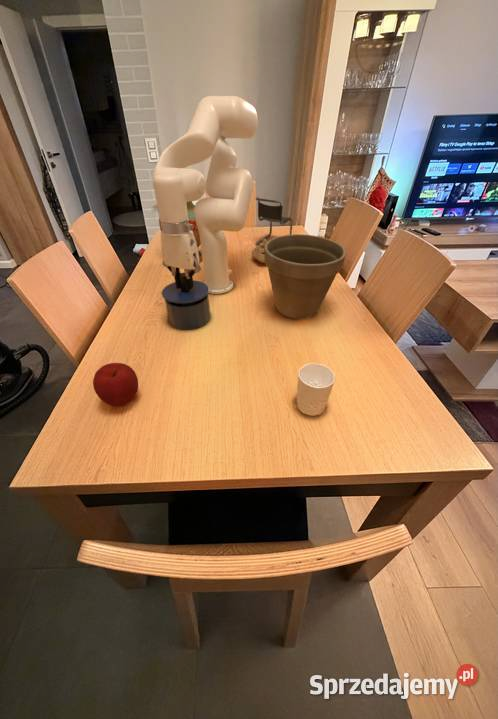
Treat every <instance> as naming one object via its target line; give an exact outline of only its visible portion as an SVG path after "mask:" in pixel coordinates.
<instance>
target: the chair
mask: <svg viewBox="0 0 498 719" xmlns="http://www.w3.org/2000/svg"><path fill="white" fill-rule="evenodd" d="M255 200H256V201H257V218H258V221H260V222H262V221H268V222H269V233H268V234H267V235H266V236H264V237H263V238H261V239H259V240H258V241H257V242H256V245H257V246H258V245H260V244H261V243H262V241H263V239H266V240H268V238H270V237H271V236H272V232H273V223H279V224H280V225H282V226H283V225H284V224H286V223H288V222H290V223H289V234H288V235H293V234H292V232H293V217H291V216H290V217H286V216H285V217H283V209H284V208H283V206H284V205H283V200H281V199H271V198H263V197H259V196H256V197H255ZM262 202H266V203H267V202H268V203H275V204H279V205H269V204H265V203H262Z"/></svg>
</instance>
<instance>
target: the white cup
mask: <svg viewBox="0 0 498 719" xmlns="http://www.w3.org/2000/svg"><path fill="white" fill-rule="evenodd" d="M335 380H336V375H335V373H334V371H333V369H331V368H330V367H328V366H327V365H325V364H321V363H317V362H310V363H306V364H304V365H302V366H301V367H300V368H299V370H298V375H297V385H296V386H297V387H296V406H297V409H298V410H299V411H300V412H301V413H303V414H304V415H307V416H314V417H315V416H318V415H321V414H322V413H323V412H324V411H325V409H326V406H327V403H328V402H329V399H330V395H331V393H332V390H333V387H334V384H335Z"/></svg>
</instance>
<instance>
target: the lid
mask: <svg viewBox="0 0 498 719" xmlns="http://www.w3.org/2000/svg"><path fill="white" fill-rule="evenodd" d="M178 276H179V282H180V288H179V289H177V288H176V284H175V281H174V282H172V283H171V282H170V283H169V284H167V285H166V286H164V288H162V290H161V297H162V298H163V299H164V301H165V300H167V301H169V302H172V303H180V304H183V303H192V302H196V301H198V300H201V299H203V298H204V297H205V296H207V294H208V295H209V293H208V292H209V288H208V286H207V285H206V284H204V283H203V281H198V280H194V279H193V288H192V289H190V290H189V291H187V290H186V286H185V278H186V276H185V272H180V274H179V275H178Z"/></svg>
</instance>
